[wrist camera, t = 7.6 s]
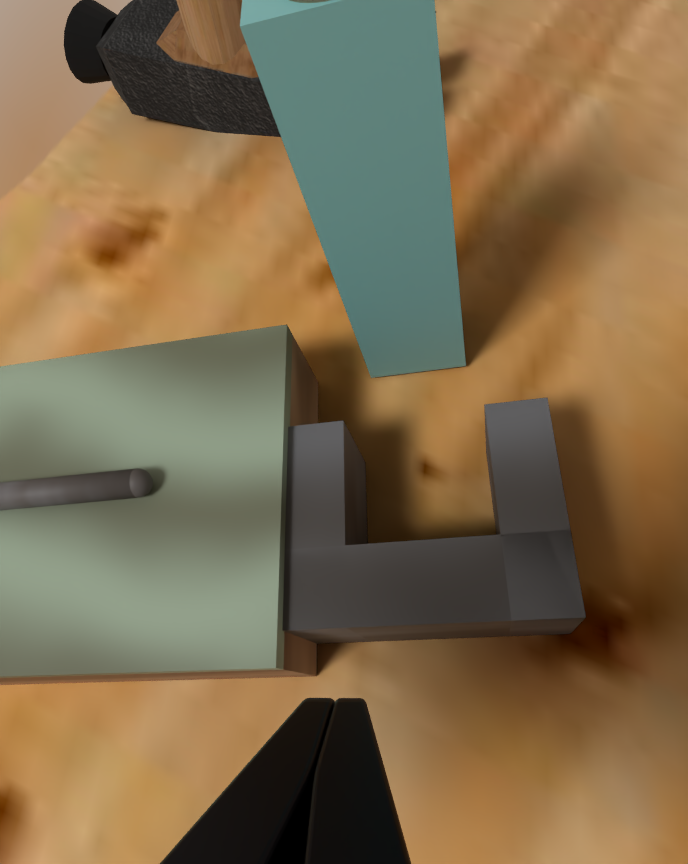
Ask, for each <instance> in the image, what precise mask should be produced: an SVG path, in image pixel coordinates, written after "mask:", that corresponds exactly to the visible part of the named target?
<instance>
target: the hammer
mask: <svg viewBox="0 0 688 864" xmlns="http://www.w3.org/2000/svg"><path fill="white" fill-rule="evenodd" d="M241 8H242V0H133V1H131V2H130V3H129V4H128V5H127V6H125V7H124V8H123V9H122V10H121V11H120V13H119V14H118V15H117V14H115V13H114V12H112V11H110V10H109V9H107V8H106V7H104V6H102V5H101V4H99V3H97V2H96V1H94V0H82V1H79V3H77V4H76V5H75V6H74V7H73V9H72V11H71V12H70V14H69V16H68V19H67V23H66V27H65V31H64V32H65V33H64V48H65V55H66V60H67V62H68V65H69V68H70V70H71V71H72V73H73V74H74V76H75V77H76V78H77V79H78V80H80V81H81V82H83V83H98V82H104V81H112V83H113V85H114V87H115V89H116V90H117V92H118V93H119V95H120V96H121V98H122V99H123V100H124V102H125V103H126V104H127V106H128V107H129V109H130V111H131V113H132V114H135V115H140V116H144V117H149V118H153V119H158V120H163V121H167V122H172V123H176V124H181V125H186V126H190V127H195V128H200V129H204V130H209V131H213V132H220V133H234V134H248V135H262V136H276V137H281V135H280V133H279V130H278V127H277V125H276V122H275V119H274V117H273V114H272V111H271V109H270V106H269V103H268V100H267V98H266V95H265V92H264V90H263V87H262V84H261V82H260V79H259V76H258V74H257V71H256V68H255V66H254V63H253V60H252V58H251V55H250V52H249V50H248V47H247V44H246V42H245V39H244V36H243V34H242V31H241V28H240V19H241ZM435 13H436V11H435Z"/></svg>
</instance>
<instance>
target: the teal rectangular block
mask: <svg viewBox="0 0 688 864" xmlns="http://www.w3.org/2000/svg"><path fill="white" fill-rule="evenodd" d="M240 28H241V31H242V34H243V36H244V39H245V42H246V44H247V47H248V50H249V52H250V55H251V58H252V60H253V63H254V66H255V68H256V71H257V74H258V76H259V79H260V82H261V84H262V87H263V90H264V92H265V95H266V98H267V100H268V103H269V106H270V109H271V111H272V114H273V117H274V119H275V122H276V125H277V127H278V130H279V133H280V135H281V138H282V141H283V143H284V146H285V149H286V151H287V154H288V157H289V159H290V162H291V165H292V167H293V170H294V173H295V175H296V178H297V181H298V183H299V186H300V189H301V191H302V194H303V197H304V199H305V202H306V205H307V207H308V210H309V213H310V216H311V218H312V221H313V224H314V226H315V229H316V232H317V234H318V237H319V240H320V242H321V245H322V248H323V250H324V253H325V256H326V258H327V261H328V264H329V266H330V269H331V272H332V274H333V277H334V280H335V282H336V285H337V288H338V290H339V293H340V296H341V298H342V301H343V304H344V306H345V309H346V312H347V314H348V317H349V320H350V322H351V325H352V328H353V331H354V333H355V336H356V339H357V341H358V344H359V347H360V349H361V352H362V355H363V357H364V360H365V363H366V365H367V368H368V371H369V373H370V376H371V378H374V377H382V376H390V375H398V374H406V373H414V372H422V371H430V370H438V369H446V368H454V367H462V366H466V360H465V348H464V337H463V325H462V314H461V302H460V291H459V279H458V268H457V256H456V245H455V233H454V221H453V210H452V198H451V187H450V175H449V164H448V152H447V141H446V129H445V118H444V106H443V95H442V83H441V71H440V60H439V48H438V37H437V25H436V14H435V2H434V0H242V8H241V19H240Z"/></svg>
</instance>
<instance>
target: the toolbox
mask: <svg viewBox="0 0 688 864" xmlns="http://www.w3.org/2000/svg"><path fill="white" fill-rule="evenodd" d="M484 406H485V432H486V453H487V461H488V470H489V478H490V486H491V494H492V502H493V510H494V519H495V527H496V535H485V536H471V537H457V538H443V539H429V540H414V541H400V542H386V543H372V544H368V533H367V499H366V466H365V461H364V459H363V457H362V455H361V453H360V451H359V449H358V447H357V446H356V444H355V442H354V440H353V438H352V436H351V434H350V432H349V430H348V428H347V426H346V425H345V423H344V421H334V422H325V423H318V381H317V379H316V377H315V376H314V374H313V372H312V370H311V368H310V366H309V365H308V363H307V361H306V359H305V357H304V355H303V353H302V352H301V350H300V348H299V346H298V344H297V342H296V340H295V339H294V337H293V335H292V333H291V331H290V329H289V328H288V326H287V325H281V326H274V327H267V328H260V329H254V330H247V331H240V332H233V333H226V334H219V335H213V336H206V337H199V338H192V339H185V340H179V341H172V342H165V343H158V344H151V345H144V346H138V347H131V348H124V349H117V350H110V351H104V352H97V353H90V354H83V355H76V356H70V357H63V358H56V359H49V360H42V361H35V362H29V363H22V364H15V365H8V366H1V367H0V685H10V684H46V683H83V682H120V681H156V680H193V679H229V678H266V677H303V676H317V644H319V643H345V642H371V641H397V640H423V639H450V638H476V637H502V636H528V635H554V634H571V633H572V631H573V630H574V629H575V628H576V627H577V626H578V625H579V624H580V623H581V622H582V621H583V620H584V619H585V618H586V615H585V610H584V604H583V598H582V593H581V587H580V581H579V576H578V570H577V564H576V558H575V553H574V547H573V541H572V536H571V530H570V524H569V519H568V513H567V507H566V502H565V496H564V490H563V484H562V479H561V473H560V467H559V462H558V456H557V450H556V445H555V439H554V433H553V428H552V422H551V416H550V410H549V405H548V399H547V398H539V399H530V400H521V401H513V402H504V403H495V404H486V405H484Z"/></svg>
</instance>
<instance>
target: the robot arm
mask: <svg viewBox="0 0 688 864" xmlns="http://www.w3.org/2000/svg"><path fill="white" fill-rule="evenodd" d="M160 864H411V861H410V857H409V854H408V850H407V847H406V843H405V840H404V836H403V832H402V829H401V825H400V822H399V818H398V815H397V811H396V807H395V804H394V800H393V797H392V793H391V790H390V786H389V783H388V779H387V775H386V772H385V768H384V765H383V761H382V758H381V754H380V750H379V747H378V743H377V740H376V736H375V733H374V729H373V726H372V722H371V718H370V715H369V711H368V708H367V704H366V702H365V700H364V699H361V698H339V699H337V700H336V701H334V700H333V699H331V698H307V699H305V700H304V701H303V702H302V703H301V704H300V705H299V706H298V707H297V708H296V709H295V710H294V712H293V713H292V714H291V715H290V716H289V717H288V718H287V720H286V721H285V722H284V723H283V724H282V725H281V726H280V728H279V729H278V730H277V731H276V732H275V733H274V734H273V736H272V737H271V738H270V739H269V740H268V741H267V742H266V743H265V745H264V746H263V747H262V748H261V749H260V750H259V751H258V753H257V754H256V755H255V756H254V757H253V758H252V759H251V761H250V762H249V763H248V764H247V765H246V766H245V767H244V769H243V770H242V771H241V772H240V773H239V774H238V775H237V776H236V778H235V779H234V780H233V781H232V782H231V783H230V784H229V786H228V787H227V788H226V789H225V790H224V791H223V792H222V794H221V795H220V796H219V797H218V798H217V799H216V800H215V802H214V803H213V804H212V805H211V806H210V807H209V808H208V809H207V811H206V812H205V813H204V814H203V815H202V816H201V817H200V819H199V820H198V821H197V822H196V823H195V824H194V825H193V827H192V828H191V829H190V830H189V831H188V832H187V833H186V835H185V836H184V837H183V838H182V839H181V840H180V841H179V842H178V844H177V845H176V846H175V847H174V848H173V849H172V850H171V852H170V853H169V854H168V855H167V856H166V857H165V858H164V860H163V861H162V862H161V863H160Z"/></svg>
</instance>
